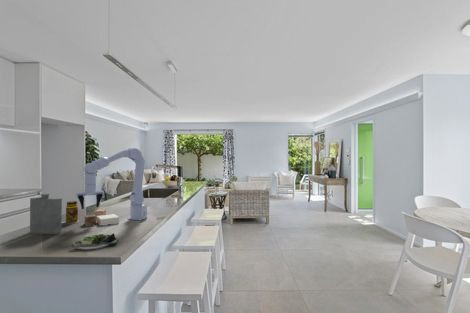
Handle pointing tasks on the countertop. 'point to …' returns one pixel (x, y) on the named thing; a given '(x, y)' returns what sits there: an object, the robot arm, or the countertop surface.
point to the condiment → (71, 212)
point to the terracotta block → (100, 212)
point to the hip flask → (45, 215)
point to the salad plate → (95, 242)
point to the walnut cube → (90, 220)
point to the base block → (107, 219)
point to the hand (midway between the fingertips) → (90, 207)
